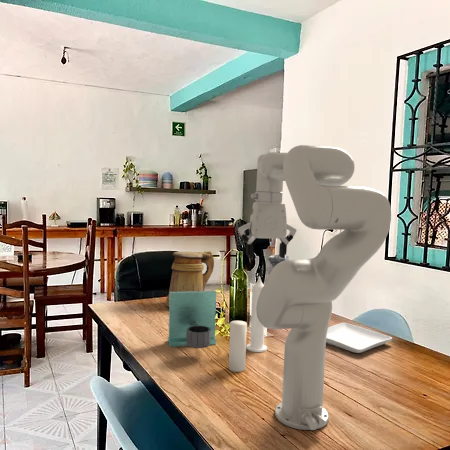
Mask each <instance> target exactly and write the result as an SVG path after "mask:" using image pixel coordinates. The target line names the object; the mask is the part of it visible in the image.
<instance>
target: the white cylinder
mask: <svg viewBox="0 0 450 450" xmlns="http://www.w3.org/2000/svg"><path fill="white" fill-rule="evenodd" d="M247 329H248V323H247V321H243V320H232V321H230V323H229V349H228V350H229V351H228V370H230V372H234V373H240V372H244V371H245V370H246V359H247V358H246V354H247V353H246V352H247V348H246V346H247V332H248V331H247Z"/></svg>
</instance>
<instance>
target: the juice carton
mask: <svg viewBox="0 0 450 450" xmlns="http://www.w3.org/2000/svg"><path fill="white" fill-rule="evenodd" d="M285 260H290V259H289V256H288V255H287V254H286V255H285V258H281V257H280V256H279V254H271V255H270V256H268V257H267V260H266V267H265V282H266V281H267V279H268V277H269V275H270V273H271V271H272V270H273V268H274V267H275V266H276V265H277V264H278V263H280V262H282V261H285Z"/></svg>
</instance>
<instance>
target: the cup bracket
mask: <svg viewBox="0 0 450 450" xmlns="http://www.w3.org/2000/svg"><path fill="white" fill-rule="evenodd" d="M168 295H169V307H168V336H167V343H168V346H169V348H173V347H174V348H175V347H190V348H193V349H204V348H208V347H210V346H213V345H217V339H216V336H215V335H216V311H217V310H216V307H217V306H216V305H217V292H216V290H204V291H185V292H170V294H169V293H168Z"/></svg>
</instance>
